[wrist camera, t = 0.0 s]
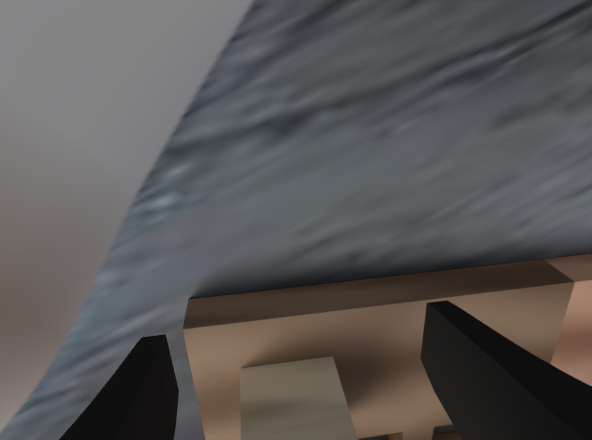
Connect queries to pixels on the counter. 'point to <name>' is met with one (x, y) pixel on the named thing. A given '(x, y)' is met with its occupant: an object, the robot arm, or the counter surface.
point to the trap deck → (385, 338)
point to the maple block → (294, 402)
